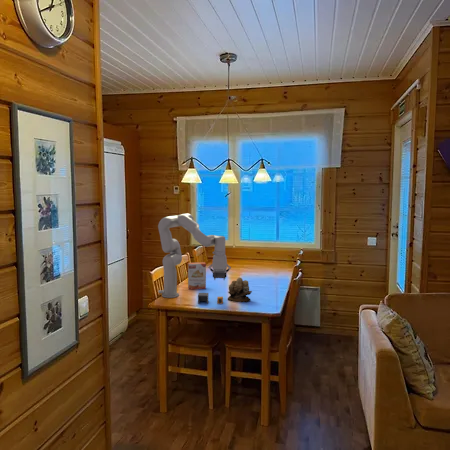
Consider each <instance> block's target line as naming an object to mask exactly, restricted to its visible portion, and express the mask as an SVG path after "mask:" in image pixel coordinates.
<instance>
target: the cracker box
mask: <svg viewBox="0 0 450 450" xmlns="http://www.w3.org/2000/svg"><path fill="white" fill-rule="evenodd" d="M187 288H188V290H206V289H207V263H206V262H204V261H203V262H202V261H201V262H188V263H187Z"/></svg>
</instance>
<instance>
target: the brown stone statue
mask: <svg viewBox="0 0 450 450" xmlns="http://www.w3.org/2000/svg"><path fill="white" fill-rule="evenodd" d="M228 290H229V291H227V293H228V294H229V296H228V297H227V301H229V302H233V303H248V302H251V298H250V297H249V296H250V295H251V294H252V293H253V291H252V290H250V286H249V281H248V280H246V279H245V280H243V278H242V277H240V276H239V277H238V278H237V279H236V280H232V281H231V283H230V284H229V285H228Z"/></svg>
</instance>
